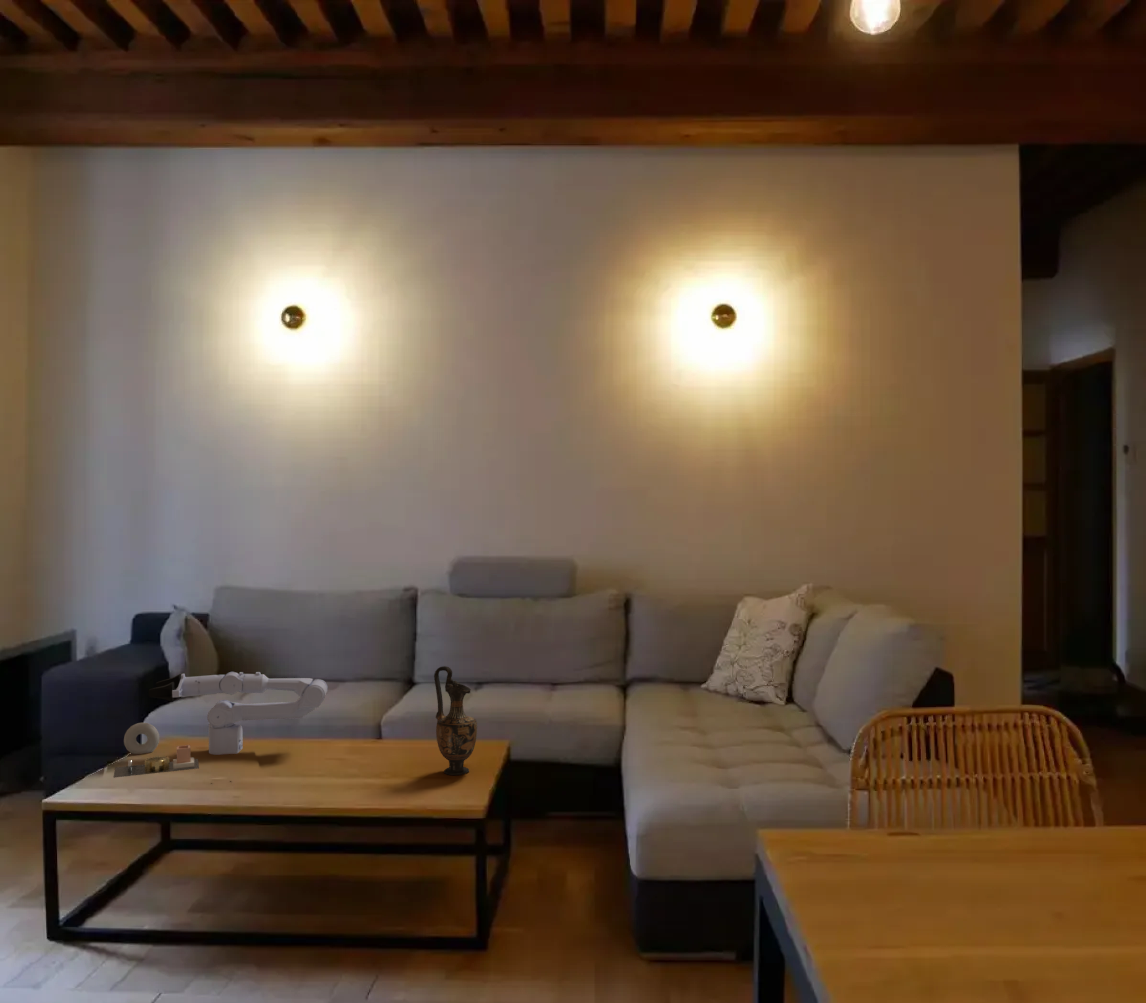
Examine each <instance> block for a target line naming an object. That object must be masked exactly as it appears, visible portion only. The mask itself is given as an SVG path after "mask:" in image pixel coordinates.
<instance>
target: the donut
mask: <svg viewBox="0 0 1146 1003" xmlns="http://www.w3.org/2000/svg"><path fill="white" fill-rule="evenodd" d="M139 735H144V736H145V737H146V740H147V741H146V742H145V743H143V744H142V743H139V742H138V741H137V737H138V736H139ZM159 742H160V733H159V731H158V729H157V728H156V727H155V726H154V725H152V723H151V724H150V723H148V722H138V723H135V724H133V725H130V727H128V729H126V731H125V733H124V738H123V745H124V747H125V748H126V750H127V751H128V752H129V753H130V754H134V755H141V754H142V755H143V754H150V753H153V752H155V750H156V749H157V748H158V746H159Z"/></svg>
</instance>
